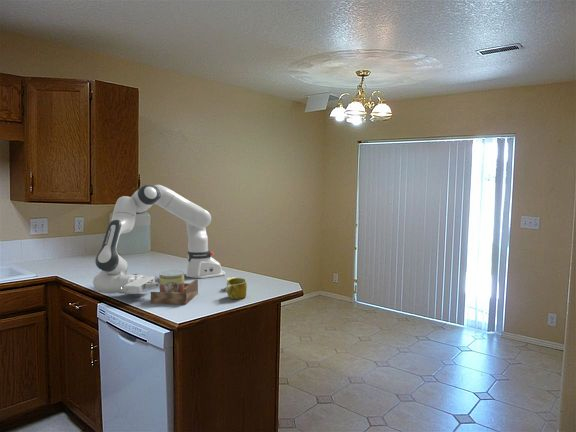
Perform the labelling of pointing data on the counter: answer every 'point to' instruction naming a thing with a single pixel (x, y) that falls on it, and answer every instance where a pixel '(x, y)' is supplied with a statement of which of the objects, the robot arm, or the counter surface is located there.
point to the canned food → (172, 281)
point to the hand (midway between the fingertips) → (157, 285)
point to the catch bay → (176, 295)
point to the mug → (236, 288)
